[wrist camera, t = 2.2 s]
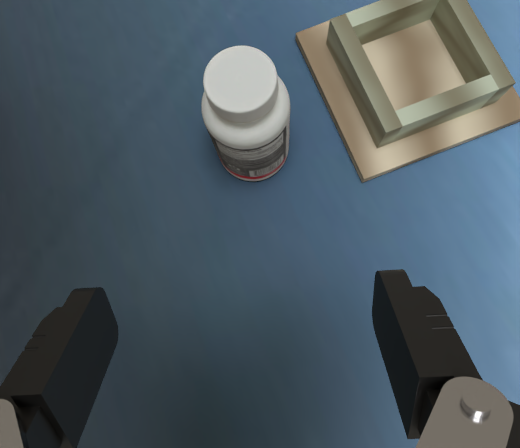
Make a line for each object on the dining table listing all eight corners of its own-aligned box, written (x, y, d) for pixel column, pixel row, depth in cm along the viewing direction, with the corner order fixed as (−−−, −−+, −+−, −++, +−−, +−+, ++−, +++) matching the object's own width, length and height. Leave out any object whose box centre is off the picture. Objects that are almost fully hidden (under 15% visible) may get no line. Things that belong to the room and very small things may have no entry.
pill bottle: (225, 112, 32) (200, 27, 22) (293, 121, 31) (298, 38, 22) (212, 178, 31) (181, 118, 21) (283, 188, 30) (283, 131, 21)
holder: (362, 182, 30) (372, 166, 26) (295, 39, 33) (297, 8, 29) (523, 120, 30) (553, 95, 27) (443, -17, 33) (462, -54, 30)
